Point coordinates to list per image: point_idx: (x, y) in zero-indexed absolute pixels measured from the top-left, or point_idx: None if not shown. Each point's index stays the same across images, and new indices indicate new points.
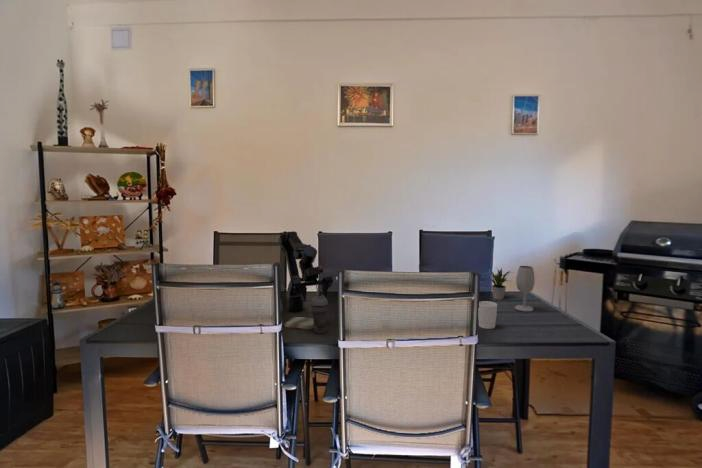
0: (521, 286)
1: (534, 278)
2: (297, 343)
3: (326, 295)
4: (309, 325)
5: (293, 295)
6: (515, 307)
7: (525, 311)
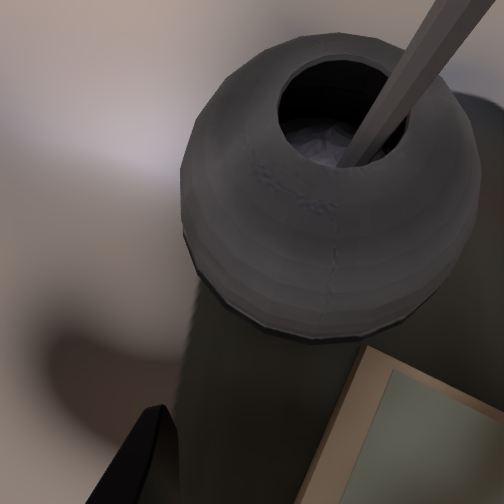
0: None
1: None
2: (457, 95)
3: (127, 455)
4: (381, 356)
5: None
6: None
7: None
